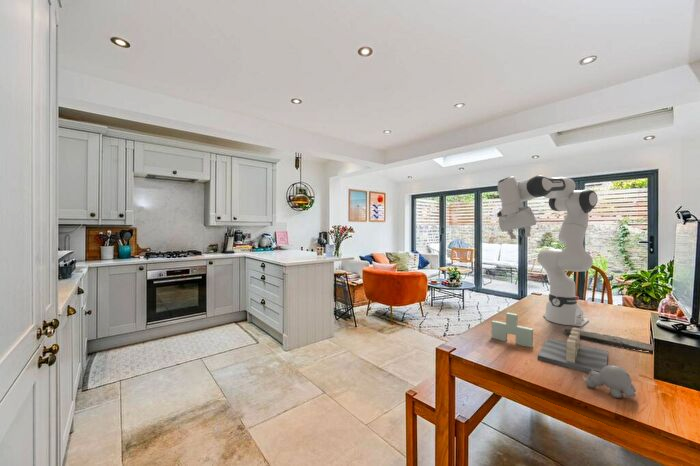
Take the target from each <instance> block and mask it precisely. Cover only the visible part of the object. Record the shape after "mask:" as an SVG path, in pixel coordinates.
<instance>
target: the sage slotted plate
mask: <svg viewBox="0 0 700 466" xmlns="http://www.w3.org/2000/svg"><path fill="white" fill-rule="evenodd" d="M505 316H506V317H505V322H503V321H499V320H492V321H491V337H490V338H491V339H496V340H498V341H499V340H500V341H503V342H506V341H507V340H508V334H509V335H513V336H515V344H516V345H519V346H522V347H527V348H531V349H532V348H533V346H534V344H533V343H534V328H533V327H532V328H531V327H527V326H524V325H523V326H522V325H519V324H518V319H519V313H512V312H508V311H507V312H506V314H505Z"/></svg>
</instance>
